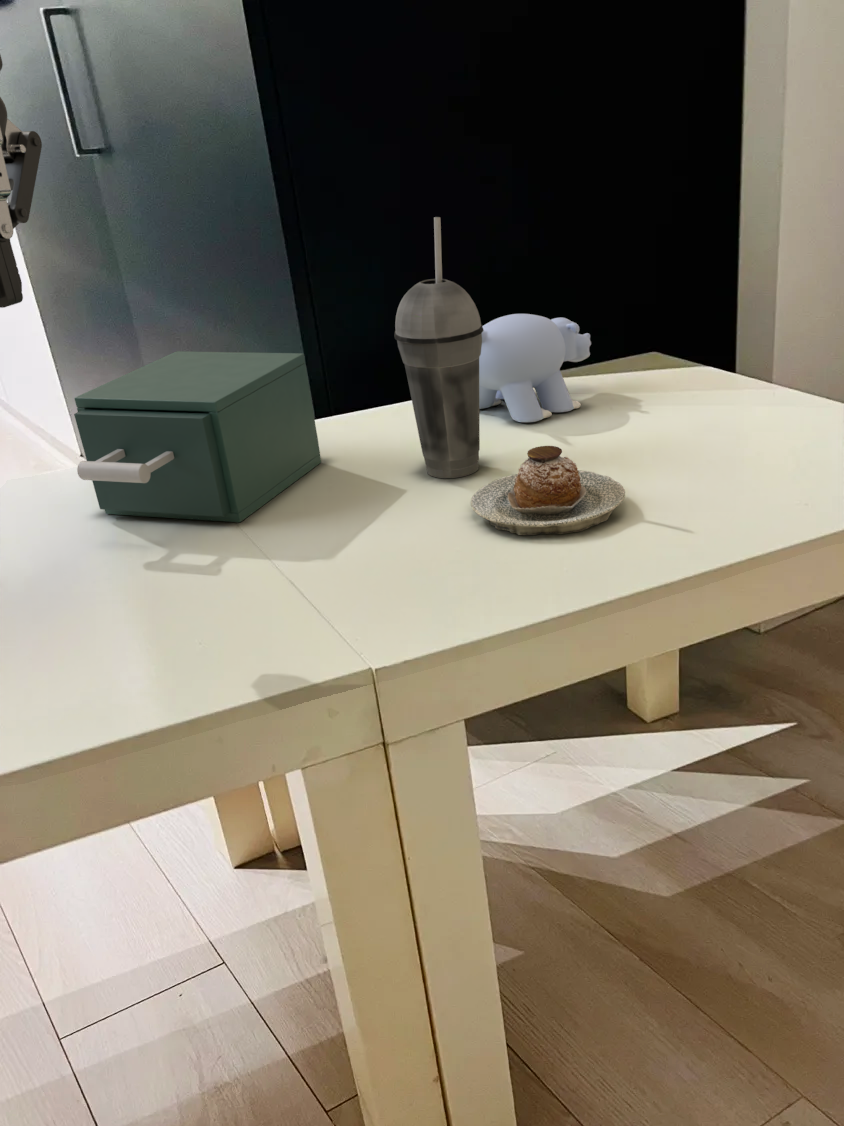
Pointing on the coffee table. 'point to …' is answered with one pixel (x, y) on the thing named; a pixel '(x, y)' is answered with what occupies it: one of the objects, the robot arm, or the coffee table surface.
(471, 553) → the coffee table surface
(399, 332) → the beverage cup
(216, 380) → the cabinet
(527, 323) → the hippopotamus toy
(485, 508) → the pastry
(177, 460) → the drawer
